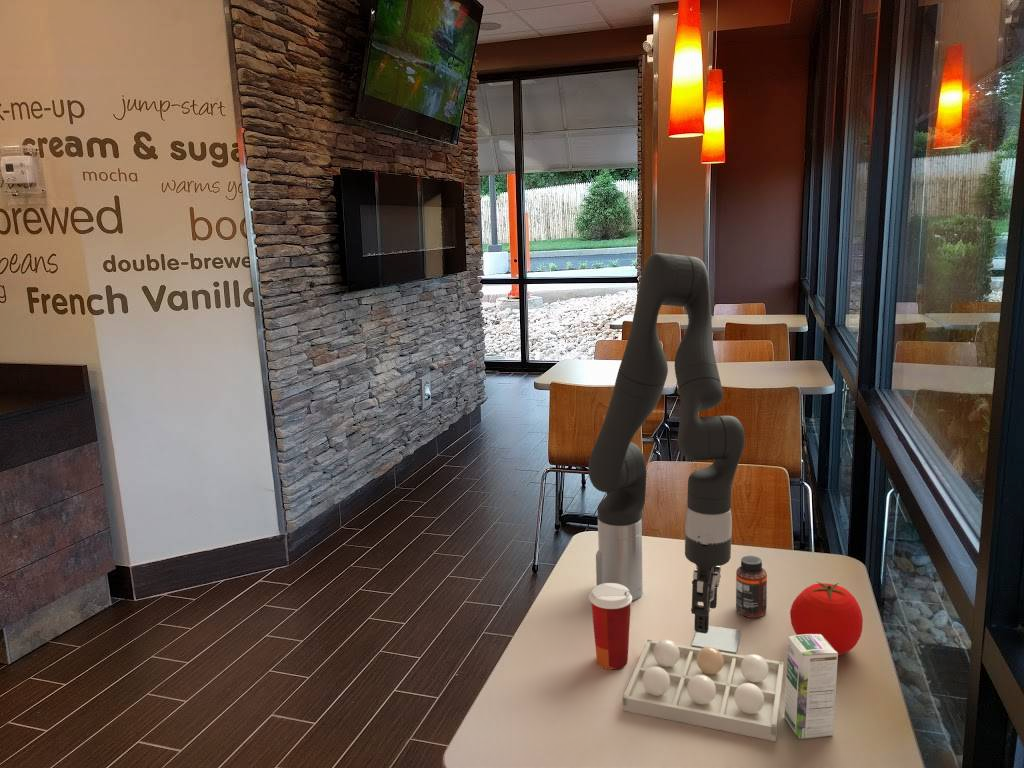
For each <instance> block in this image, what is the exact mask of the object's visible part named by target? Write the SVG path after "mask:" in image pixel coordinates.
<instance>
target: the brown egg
mask: <svg viewBox="0 0 1024 768" xmlns="http://www.w3.org/2000/svg"><path fill="white" fill-rule="evenodd" d="M723 664H724V659H723V656H722V654H721V653H720V651H719V650H717V649H716V648H713V647H705V648H703V649H701V650H700V651H699V653H698V655H697V665H698V667H699V668H700V670H701V671H702V672H704V673H706V674H709V675H714V674H717V673H718V672H720V671H721V669H722V668H723Z"/></svg>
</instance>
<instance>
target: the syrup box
mask: <svg viewBox="0 0 1024 768" xmlns="http://www.w3.org/2000/svg"><path fill="white" fill-rule="evenodd" d="M786 647H787V649H786V652H787V653H786V669H785V686H784V687H785V688H784V689H785V691H784V695H785V696H784V710H783V711H784V712H783V713H784V714H783V716H784V719H785V721H786V722H787V723H788V725H789V726H790V728H791V730H792V731H793V732H794V734H795V735H796V737H797V738H798V740H803V739H805V740H806V739H814V738H815V739H816V738H822V737H830V736H834V727H835V726H834V725H835V724H834V723H835V710H836V708H835V707H836V693H837V680H838V679H837V678H838V659H839V655H838V652H836V651H835V650H834V649H833V647H832V646H831V645H830V644H829V643H828V641H827V640H826V639H825V638H824V637H823V636H822V635H821V634H802V635H797V634H795V635H791V636H787V645H786Z"/></svg>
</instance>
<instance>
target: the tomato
mask: <svg viewBox="0 0 1024 768" xmlns="http://www.w3.org/2000/svg"><path fill="white" fill-rule="evenodd" d="M839 584H840V583H839V582H838V583H837V582H836V583H828V582H826V583H825V582H819V581H817V583H813V584H811V585H809V586H807V587H806V588H804V589H803V590H802V591H801V592H800V593H799V594H798V595H797V596H796V597H795V599H794V600H793V602H792V605H791V607H790V610H789V615H790V623H791V627H792V629H793V631H794V633H795V635H802V634H821V635H822V636H823V637H824V638H825V639H826V640H827V641H828V643H829V644H830V645H831V646H832V647H833V649H834V650H835V651H836V652H838V656H839V655H840V656H841V655H844V654H845V653H847V652H850V651H851V650H852V649H854V647H856V645H857V643H858V642H859V640H860V638H861V636H862V632H863V621H864V620H863V612H862V609H861V608H860V607H861V606H860V605H859V602H858V601H857V599H856V597H855V596H854V595H853V594H852V593H851V592H850V591H849V590H848V589H846V588H844V587H843V586H840V585H839Z"/></svg>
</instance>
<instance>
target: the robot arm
mask: <svg viewBox="0 0 1024 768" xmlns="http://www.w3.org/2000/svg"><path fill="white" fill-rule="evenodd" d="M710 289H711V288H710V278H709V274H708V270H707V267H706V264H705V262H703V260H702V259H700V258H699V257H696V256H692V255H690V256H689V255H682V254H681V255H680V254H672V253H671V254H670V253H663V252H662V253H661V252H657V253H653V254H652V255H650V256H649V258H648V259H647V260H646V262H645V265H644V267H643V270H642V272H641V277H640V282H639V286H638V292H637V297H636V303H635V308H634V312H633V318H632V323H631V327H630V331H629V335H628V338H627V342H626V346H625V349H624V352H623V355H622V359H621V362H620V364H619V367H618V371H617V375H616V378H615V382H614V387H613V391H612V394H611V396H610V397H611V398H610V401H609V404H608V407H607V411H606V415H605V418H604V420H603V424H602V426H601V428H600V431H599V434H598V436H597V439H596V442H595V443H594V446H593V448H592V450H591V453H590V455H589V460H588V467H587V468H588V469H587V470H588V476H589V480H590V483H591V484H592V486H593V487H594V488H595V489H596V490H597V491H599V492H602V493H607V494H606V496H605V497H604V498H603V499H602V500H601V501H599V504H598V506H597V535H598V536H597V537H598V538H597V541H598V542H597V543H598V545H597V546H598V549H597V552H596V553H595V573H596V574H595V575H596V577H595V578H596V586H598V585H600V584H604V583H617V584H621V585H623V586H625V587H627V588H628V589H629V591H630V594H631V596H632V602H633V601H635V600H637V599H639V598H641V597H642V595H643V593H644V592H643V586H644V585H643V583H644V582H643V536H642V534H643V533H642V528H643V526H642V521H643V520H642V516H643V515H642V514H643V509H644V507H645V504H646V494H647V493H646V491H647V463H646V458H645V455H644V453H643V451H642V450H641V448H640V446H638V445H637V444H636V443H634V442H633V441H632V440H633V438H634V436H635V435H636V434H637V432H638V431H639V429H640V428H641V427H642V426H643V424H644V423H645V422H646V420H647V419H648V418H649V417H650V415H651V414H652V413H653V411H654V410H655V408H656V407H657V406H658V403H659V401H660V399H661V397H662V393H663V391H664V387H665V385H666V381H667V378H668V373H669V366H668V361H667V357H666V354H665V351H664V348H663V346H662V344H661V341H660V338H659V334H658V328H657V327H658V317H659V312H660V310H661V307H662V306H672V307H680V308H685V310H686V313H687V319H688V324H687V327H686V331H685V332H684V334H683V337H682V339H681V341H680V343H679V345H678V348H677V351H676V353H675V357H674V374H675V378H676V382H677V384H676V385H677V387H678V393H679V400H680V401H679V403H680V411H679V413H680V414H679V423H678V425H679V426H678V433H677V447H678V450H679V451H680V453H681V454H682V455H683V457H684V458H685V459H686V460H689V461H693V462H694V461H695V462H697V461H711V460H712V461H713V460H714V461H713V462H712V464H710V465H708V466H707V467H704V468H702V469H701V468H700V469H698V470H696V471H693V472H692V473H690V474H689V477H688V480H687V500H686V501H687V505H686V507H687V508H686V512H685V527H684V528H685V529H684V530H685V531H684V535H685V536H684V556H685V558H686V560H688V562H690V563H692V564H695V567H696V568H695V569H693V574H692V575H693V576H692V578H693V579H692V581H691V584H692V587H691V588H692V589H691V590H692V591H691V608H690V612H691V614H693V615H694V628H693V629H694V631H695V633H696V632H699V633H705V634H706V633H707V632H708V629H709V626H710V623H709V622H710V612H711V609H716V608H717V604H718V588H719V586H720V581H721V577H722V576H721V572H722V571H721V570H722V569H721V568H722V567H721V566H724V565H725V564H728V563H729V562H730V560H731V557H732V556H731V555H732V534H733V533H732V528H733V527H732V525H733V520H732V519H733V518H732V487H733V482H734V478H735V475H736V471H737V468H738V465H739V463H740V460H741V457H742V455H743V452H744V448H745V444H746V443H745V442H746V432H745V429H744V427H743V424H742V422H741V421H740V420H739V419H738V418H737V417H736V416H732V415H715V416H699V413H701V412H703V411H707V410H710V409H713V408H715V407H717V406H718V405H720V404H721V402H722V401H723V398H724V392H723V386H722V381H721V377H720V373H719V369H718V365H717V361H716V355H715V350H714V349H715V348H714V344H713V343H714V342H713V341H714V340H713V328H712V327H713V326H712V324H713V323H712V321H713V319H712V305H711V291H710ZM699 602H700V603H702V605H701V604H699Z"/></svg>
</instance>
